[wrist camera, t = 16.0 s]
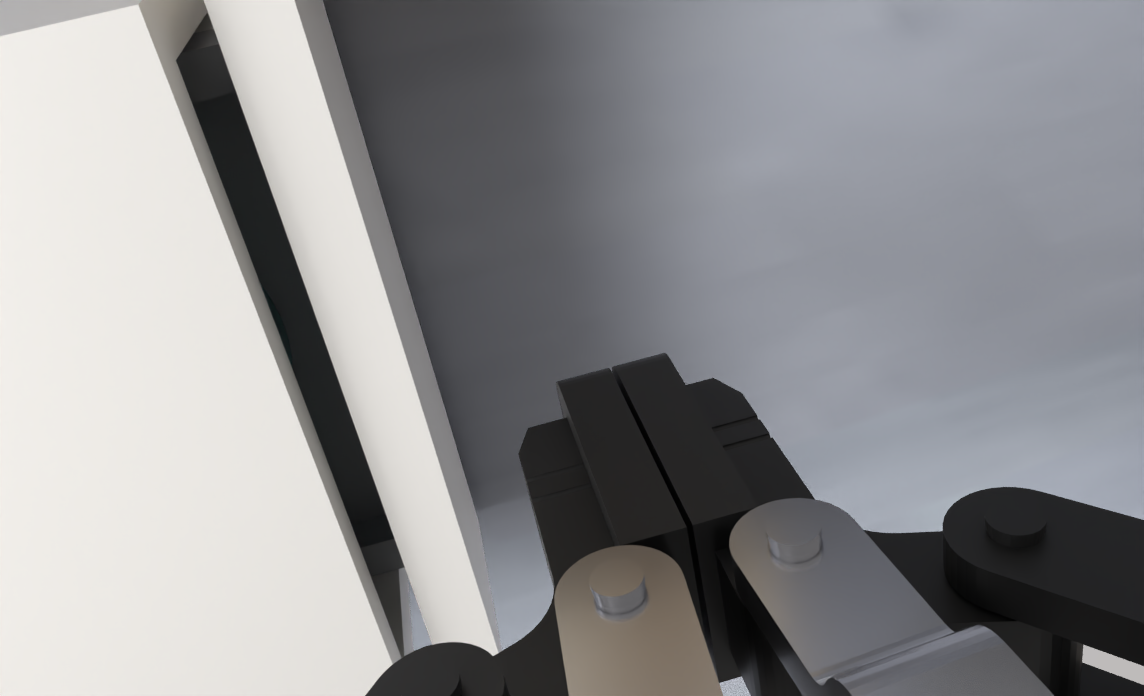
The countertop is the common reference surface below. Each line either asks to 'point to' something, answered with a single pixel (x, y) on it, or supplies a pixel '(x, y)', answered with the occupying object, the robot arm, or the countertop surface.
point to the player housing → (154, 398)
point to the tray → (341, 297)
